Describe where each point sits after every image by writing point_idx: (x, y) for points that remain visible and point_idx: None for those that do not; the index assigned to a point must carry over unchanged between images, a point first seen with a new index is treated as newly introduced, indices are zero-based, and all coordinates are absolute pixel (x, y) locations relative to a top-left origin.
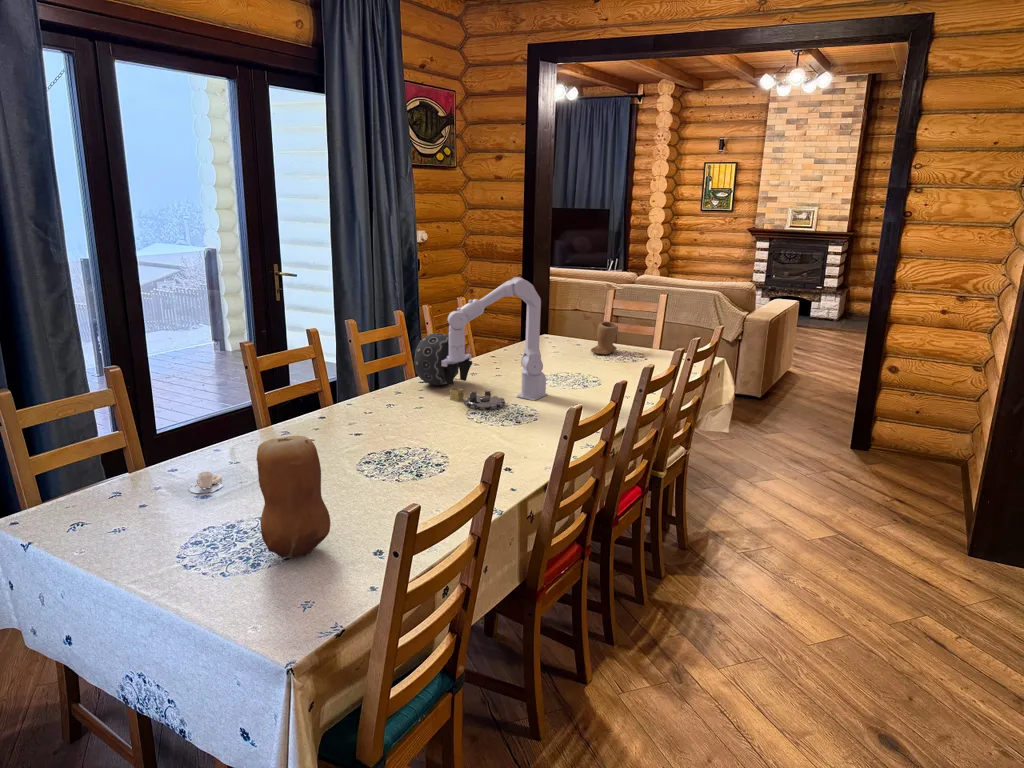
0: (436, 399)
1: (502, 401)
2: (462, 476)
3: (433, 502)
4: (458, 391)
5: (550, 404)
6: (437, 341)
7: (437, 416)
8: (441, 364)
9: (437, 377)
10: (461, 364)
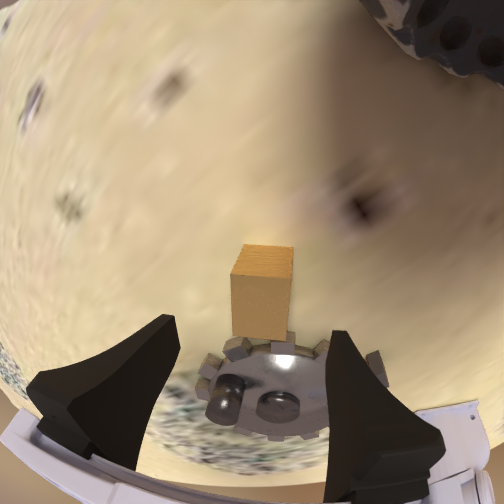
0: (200, 177)
1: (303, 435)
2: (38, 415)
3: (12, 401)
4: (233, 334)
5: None
6: None
7: (74, 319)
8: (15, 415)
9: (386, 31)
10: (347, 455)
